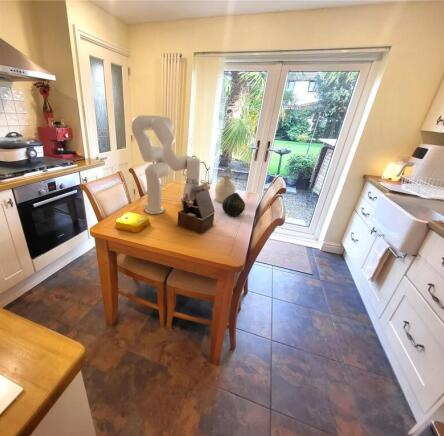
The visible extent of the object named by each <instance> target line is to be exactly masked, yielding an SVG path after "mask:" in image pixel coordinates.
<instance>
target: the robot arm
mask: <svg viewBox="0 0 444 436" xmlns="http://www.w3.org/2000/svg"><path fill="white" fill-rule="evenodd" d="M130 126H131V133H132V135H133V137H134V139H135V141H136V143H137V147H138V149H139V153H140V155H141V158H142V161H144V162H145V163H151V164H148V165H147V166H146V167H145V169H144V175H145V180H146V200H147V201H146V202H142V207H143V208H144V211H145V213H146V214H150V215H160V214H162V213H164V211H165V208H164V207H163V206H162V205H163V204H162V203H163V202H162V201H163V199H162V195H163V193H162V191H163V187H162V183H161V180H160V179H162V178H164V177H167V176H168V175H169V174H170V171H171V170H172V171H174V172H179V171H183V170H185V171H186V173H185V174H186V175H185V183H184V187H183V193H182V198H181V203H182V205H183V206H182V207H183V209H182V210H184V211H187V212H188V209H189V206H190V205H189V204H190V202H192V206H195V207H198V206H197V203H196V200H195V197H194V194H193V190H192V189H193V188H196V187H198V186H200V177H201V164H202V162H201V159H200V158H198V157H192V156H189V155H187V154H184V155H178V156H177V155H176V153H175V152H174V150H173V145H174V144H175V142H176V136H175V134H174V133H173V130H174V127H175V124H174V122H173V120H172V118H170V117H168V116H160V115H153V114H151V115H148V114H147V115H146V114H145V115H144V114H142V115H141V114H140V115H137V116H135V117H134V118H133V119H132V121H131V125H130ZM146 131H153V133H154V134H155V136H156V137H157V139H158V140H159V142H160V144H161V145H162V146H160V145H153V142H152V140H151V138H150V137H151V136H149V134H148V133H146ZM153 162H155V163H153Z"/></svg>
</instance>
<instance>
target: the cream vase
mask: <svg viewBox="0 0 444 436" xmlns="http://www.w3.org/2000/svg"><path fill="white" fill-rule="evenodd" d="M227 171H228V172H229V173H230V175H225V172H227ZM221 176H222V179H220V180H219V181H217V183H216V184H215V187H214V194H215V200H216V202H218V203H220V204H221V203H223V201H224V199H225V198H226V197H228V196H229V195H231V194H233V193H236V184H235V182H234V181H232V180H231V178H232V177H233V170H232V169H231V168H228V167H226V168H225V169H223V170H222V171H221Z"/></svg>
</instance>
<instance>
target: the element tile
mask: <svg viewBox="0 0 444 436" xmlns="http://www.w3.org/2000/svg"><path fill="white" fill-rule="evenodd" d="M149 220H150V216H149V215H145V214H141V213H135V212H130V211H129V212H126V213H125V214H123V215H121V217H119V218H117V219H116V220H115V228H116V229H119V230H124V231H127V232H130V233H131V232H132V233H140V232H141V231H142V230H143V229H145V227H146V226H147V225H149V223H150V221H149Z"/></svg>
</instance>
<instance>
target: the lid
mask: <svg viewBox="0 0 444 436" xmlns="http://www.w3.org/2000/svg"><path fill="white" fill-rule="evenodd" d="M210 189H211V187H210V185H208V183H203V184H201V185H199V186H198V187H196V188H193V189H192V190H193V194H194V197H195V200H196V203H197V206H198V209H199V213H200V216H201V219H204V218H205V217H207V216H209V215H210V214H212V213H214V214H215V212H216V211H215V207H214V204H213V200H212V197H211V194H210Z"/></svg>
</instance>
